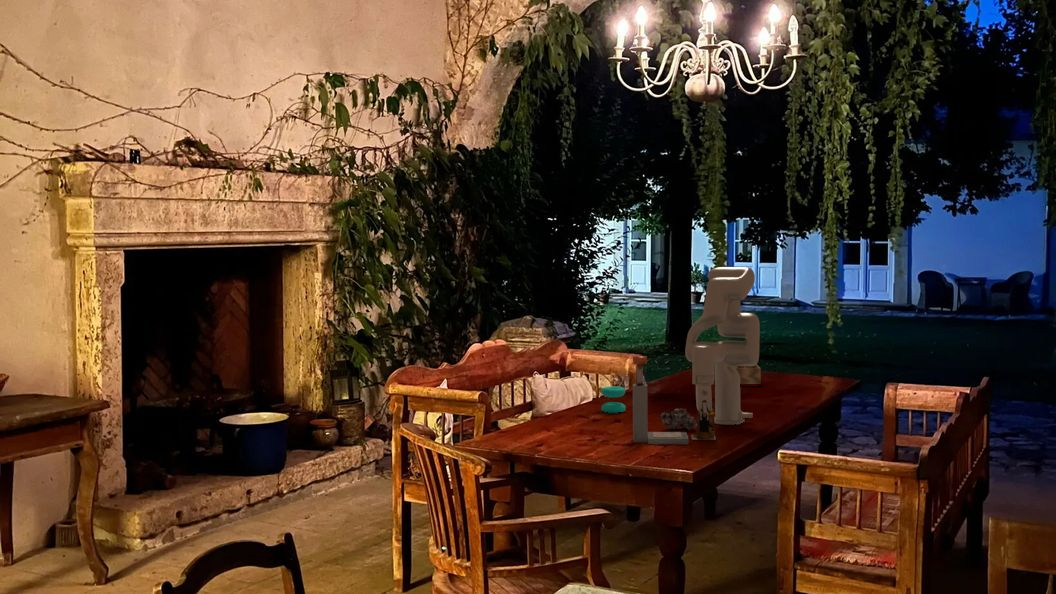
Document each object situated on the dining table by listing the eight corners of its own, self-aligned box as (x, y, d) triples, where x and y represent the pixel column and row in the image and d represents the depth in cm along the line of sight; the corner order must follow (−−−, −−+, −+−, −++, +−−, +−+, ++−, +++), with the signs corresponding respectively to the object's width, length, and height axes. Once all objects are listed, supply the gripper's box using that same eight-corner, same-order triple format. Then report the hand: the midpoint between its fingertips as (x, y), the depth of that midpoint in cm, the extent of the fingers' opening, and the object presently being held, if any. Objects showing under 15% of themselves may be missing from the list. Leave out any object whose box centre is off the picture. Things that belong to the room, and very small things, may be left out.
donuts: (627, 386, 435) (623, 389, 426) (627, 410, 436) (623, 414, 426) (603, 385, 438) (599, 389, 428) (603, 409, 438) (599, 413, 429)
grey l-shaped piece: (686, 437, 377) (685, 382, 375) (688, 444, 365) (688, 387, 363) (633, 437, 378) (632, 382, 377) (633, 444, 366) (633, 387, 365)
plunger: (646, 391, 373) (646, 355, 372) (647, 394, 368) (647, 357, 367) (632, 391, 374) (632, 355, 373) (633, 394, 369) (632, 357, 368)
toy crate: (752, 378, 522) (752, 360, 521) (760, 387, 493) (760, 368, 492) (711, 378, 523) (711, 360, 523) (717, 387, 495) (717, 368, 494)
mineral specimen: (655, 420, 391) (671, 398, 391) (665, 424, 399) (680, 403, 398) (680, 439, 384) (696, 416, 384) (689, 443, 392) (704, 421, 392)
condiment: (716, 440, 371) (716, 406, 371) (692, 440, 372) (691, 406, 371) (714, 435, 379) (714, 402, 378) (690, 435, 379) (690, 402, 379)
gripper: (716, 383, 365) (716, 434, 366) (711, 376, 382) (711, 425, 383) (694, 383, 366) (694, 434, 367) (690, 376, 383) (691, 425, 384)
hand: (703, 429), depth 375 cm, fingers closed on condiment, 6 cm apart
